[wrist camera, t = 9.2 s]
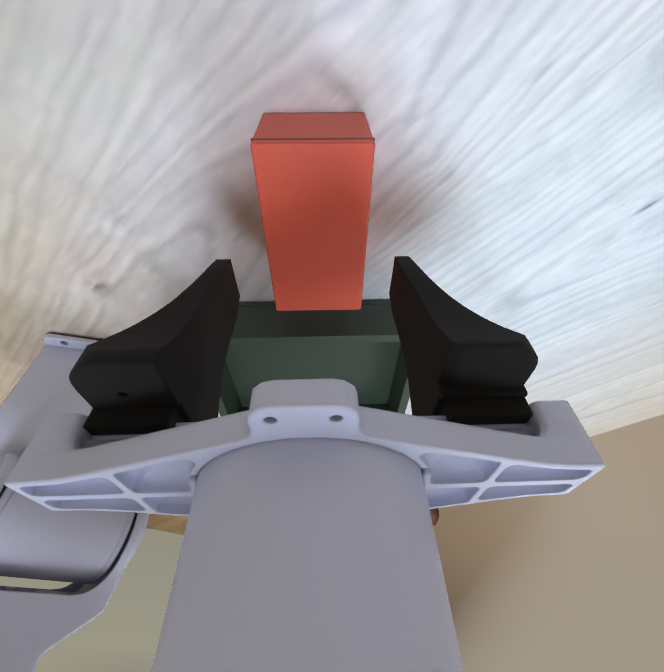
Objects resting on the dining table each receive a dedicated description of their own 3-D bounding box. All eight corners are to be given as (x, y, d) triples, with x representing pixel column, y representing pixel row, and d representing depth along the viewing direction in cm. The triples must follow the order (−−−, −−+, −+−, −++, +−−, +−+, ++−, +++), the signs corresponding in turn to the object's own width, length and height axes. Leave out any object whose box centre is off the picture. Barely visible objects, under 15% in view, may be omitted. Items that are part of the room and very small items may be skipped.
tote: (237, 406, 36) (231, 439, 33) (198, 302, 25) (184, 339, 23) (392, 403, 36) (398, 435, 33) (417, 298, 25) (428, 334, 23)
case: (281, 267, 23) (276, 311, 20) (262, 112, 17) (249, 143, 13) (355, 265, 23) (361, 310, 20) (365, 111, 17) (375, 141, 14)
